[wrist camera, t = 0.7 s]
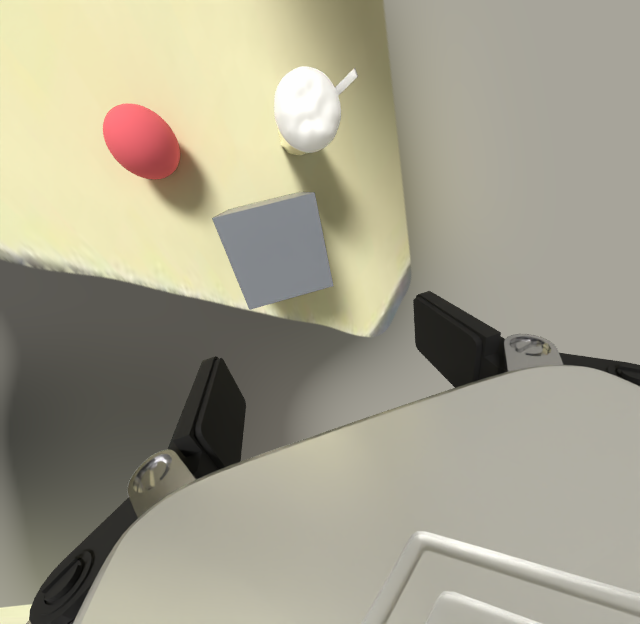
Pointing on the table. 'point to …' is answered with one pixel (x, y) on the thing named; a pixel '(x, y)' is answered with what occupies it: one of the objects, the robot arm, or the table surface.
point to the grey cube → (276, 248)
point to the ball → (141, 141)
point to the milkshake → (308, 109)
